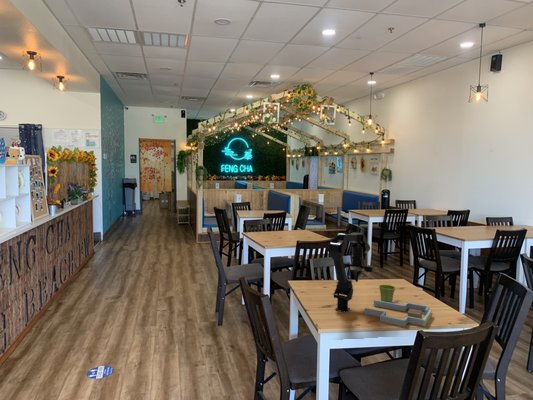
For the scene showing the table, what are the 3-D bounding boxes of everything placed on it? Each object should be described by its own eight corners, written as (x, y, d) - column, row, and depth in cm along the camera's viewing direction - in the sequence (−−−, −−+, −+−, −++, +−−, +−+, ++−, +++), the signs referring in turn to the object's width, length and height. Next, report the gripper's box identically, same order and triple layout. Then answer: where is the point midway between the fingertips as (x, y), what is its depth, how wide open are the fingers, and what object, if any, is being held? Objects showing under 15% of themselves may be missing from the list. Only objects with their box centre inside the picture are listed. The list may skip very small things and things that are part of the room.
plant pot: (380, 298, 235) (381, 283, 234) (396, 300, 230) (397, 286, 229) (376, 302, 227) (376, 287, 226) (393, 305, 222) (393, 290, 221)
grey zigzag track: (422, 330, 186) (422, 324, 186) (360, 317, 202) (360, 311, 202) (433, 312, 211) (433, 307, 210) (377, 302, 227) (377, 297, 226)
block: (419, 322, 197) (420, 314, 197) (407, 320, 200) (407, 312, 200) (421, 318, 202) (421, 311, 202) (409, 316, 205) (409, 308, 205)
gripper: (378, 254, 226) (377, 281, 227) (347, 250, 236) (346, 276, 237) (372, 257, 216) (371, 285, 217) (340, 253, 226) (339, 280, 227)
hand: (356, 281), depth 225 cm, fingers closed
